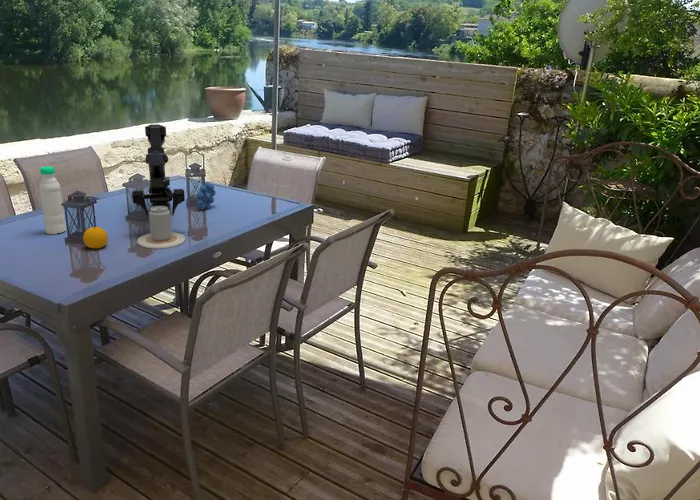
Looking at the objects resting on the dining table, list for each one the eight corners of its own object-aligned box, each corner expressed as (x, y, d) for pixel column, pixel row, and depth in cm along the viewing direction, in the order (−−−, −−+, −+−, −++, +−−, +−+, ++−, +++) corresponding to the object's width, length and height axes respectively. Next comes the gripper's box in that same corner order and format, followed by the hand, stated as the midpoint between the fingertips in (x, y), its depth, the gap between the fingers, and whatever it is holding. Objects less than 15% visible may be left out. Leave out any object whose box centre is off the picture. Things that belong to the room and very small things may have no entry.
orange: (82, 251, 200) (79, 230, 197) (87, 243, 207) (84, 223, 205) (106, 250, 202) (104, 230, 199) (110, 243, 209) (108, 223, 206)
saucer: (129, 247, 205) (129, 245, 205) (148, 232, 221) (148, 230, 221) (176, 250, 205) (176, 247, 204) (191, 235, 221) (191, 232, 220)
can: (152, 242, 208) (150, 211, 204) (149, 236, 214) (146, 205, 210) (173, 240, 211) (171, 209, 207) (169, 234, 218) (167, 204, 213)
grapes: (208, 204, 261) (206, 178, 257) (219, 206, 258) (218, 180, 254) (190, 210, 252) (188, 183, 247) (202, 212, 249) (200, 185, 245)
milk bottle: (70, 231, 219) (62, 166, 210) (54, 236, 213) (45, 170, 204) (57, 227, 222) (48, 164, 213) (41, 232, 216) (31, 167, 207)
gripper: (129, 169, 209) (131, 206, 203) (182, 168, 215) (185, 204, 209) (132, 184, 219) (134, 221, 213) (183, 183, 225) (186, 218, 219)
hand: (160, 216), depth 213 cm, fingers open, 9 cm apart
